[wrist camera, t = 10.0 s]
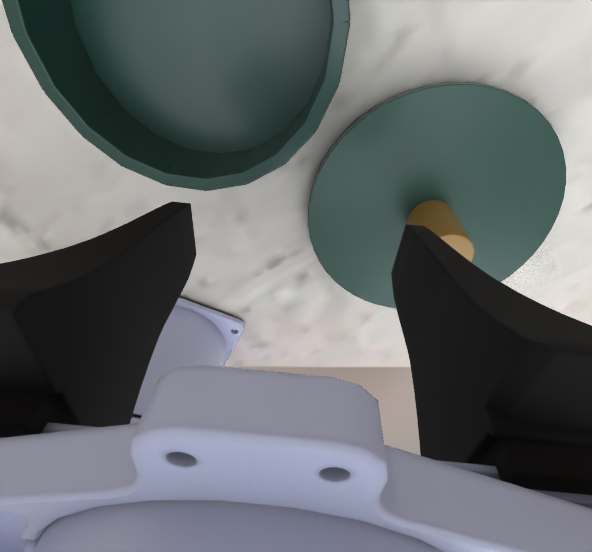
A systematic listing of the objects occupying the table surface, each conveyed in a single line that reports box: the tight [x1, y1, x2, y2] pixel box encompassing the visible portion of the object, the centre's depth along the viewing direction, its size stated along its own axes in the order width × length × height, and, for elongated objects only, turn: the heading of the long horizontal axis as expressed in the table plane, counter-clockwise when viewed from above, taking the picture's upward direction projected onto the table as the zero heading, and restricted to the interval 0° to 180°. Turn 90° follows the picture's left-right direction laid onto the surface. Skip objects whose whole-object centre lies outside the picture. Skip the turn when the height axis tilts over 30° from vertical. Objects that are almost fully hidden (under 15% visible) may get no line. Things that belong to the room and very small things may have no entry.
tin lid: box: [308, 82, 566, 308], centre depth 19 cm, size 13×13×5 cm
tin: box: [2, 0, 350, 191], centre depth 14 cm, size 12×12×4 cm
